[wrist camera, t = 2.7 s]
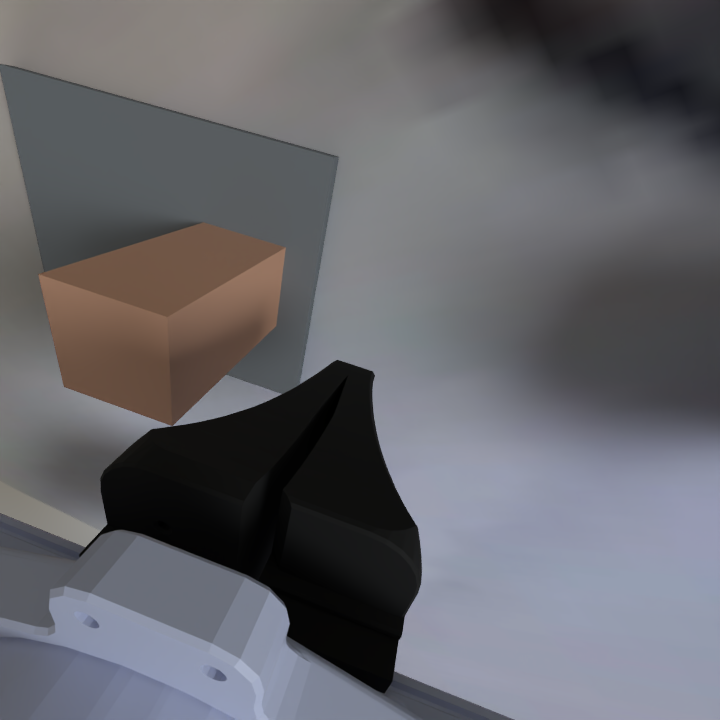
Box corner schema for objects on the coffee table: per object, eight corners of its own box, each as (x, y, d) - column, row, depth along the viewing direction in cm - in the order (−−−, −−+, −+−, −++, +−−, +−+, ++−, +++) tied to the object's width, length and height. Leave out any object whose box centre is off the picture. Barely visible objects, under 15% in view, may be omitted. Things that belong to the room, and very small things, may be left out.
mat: (298, 391, 22) (294, 397, 21) (63, 311, 23) (54, 315, 23) (338, 156, 16) (334, 157, 15) (12, 66, 17) (-2, 63, 16)
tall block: (276, 325, 19) (172, 425, 13) (202, 302, 20) (64, 387, 13) (285, 247, 17) (167, 317, 11) (203, 222, 18) (38, 274, 11)
